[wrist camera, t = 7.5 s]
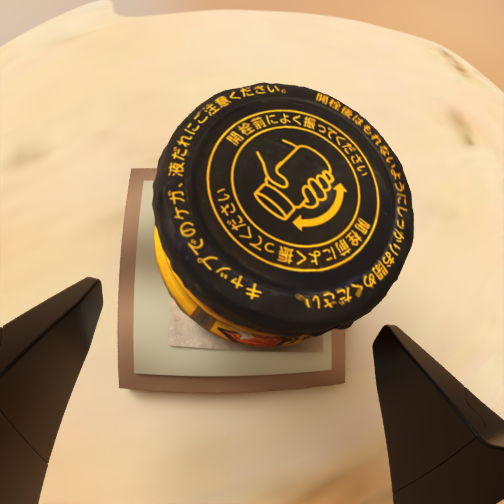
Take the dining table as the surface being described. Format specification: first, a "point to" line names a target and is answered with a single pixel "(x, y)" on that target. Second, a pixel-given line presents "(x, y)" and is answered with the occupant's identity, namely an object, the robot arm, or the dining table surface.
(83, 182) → the dining table surface
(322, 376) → the plinth
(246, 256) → the condiment
